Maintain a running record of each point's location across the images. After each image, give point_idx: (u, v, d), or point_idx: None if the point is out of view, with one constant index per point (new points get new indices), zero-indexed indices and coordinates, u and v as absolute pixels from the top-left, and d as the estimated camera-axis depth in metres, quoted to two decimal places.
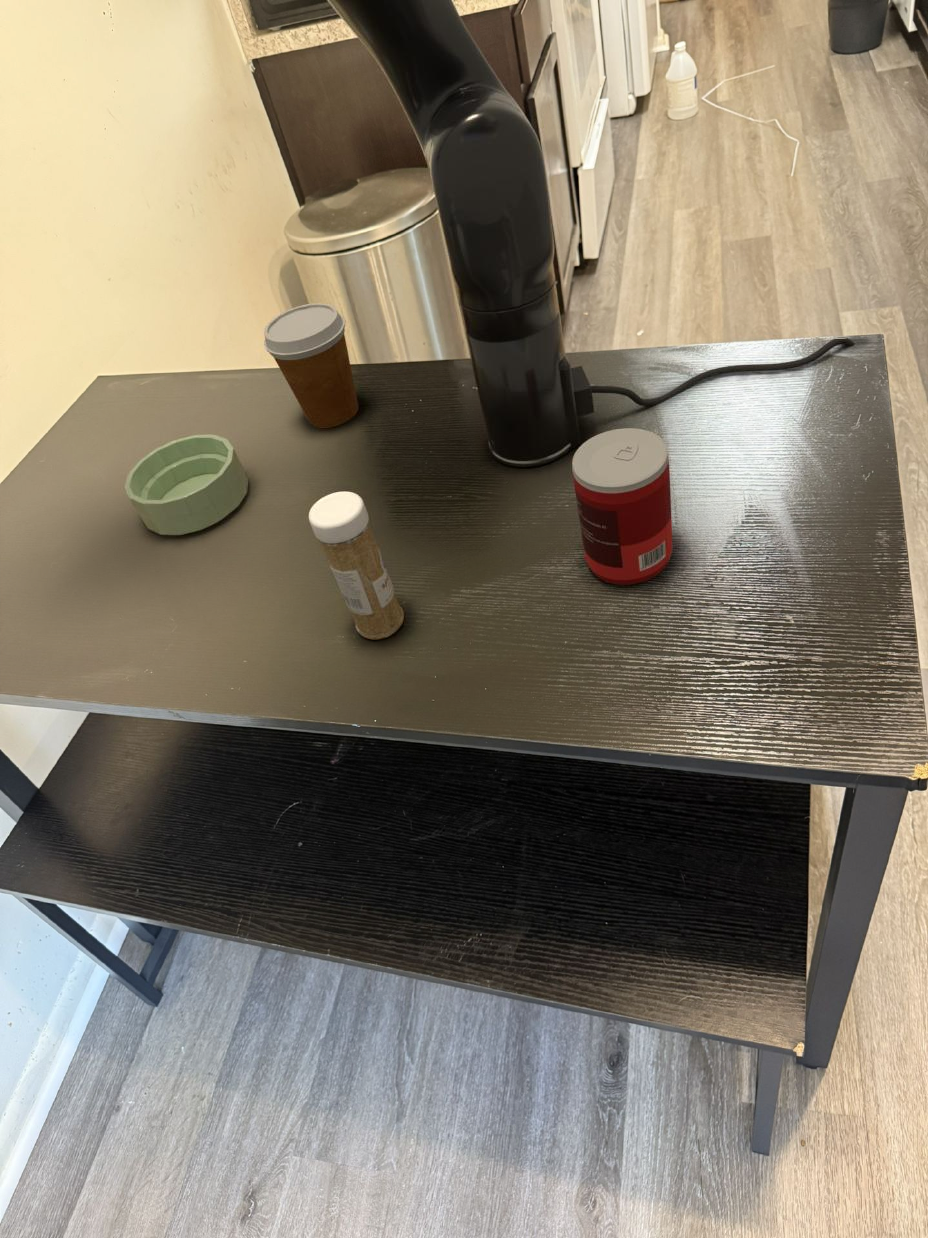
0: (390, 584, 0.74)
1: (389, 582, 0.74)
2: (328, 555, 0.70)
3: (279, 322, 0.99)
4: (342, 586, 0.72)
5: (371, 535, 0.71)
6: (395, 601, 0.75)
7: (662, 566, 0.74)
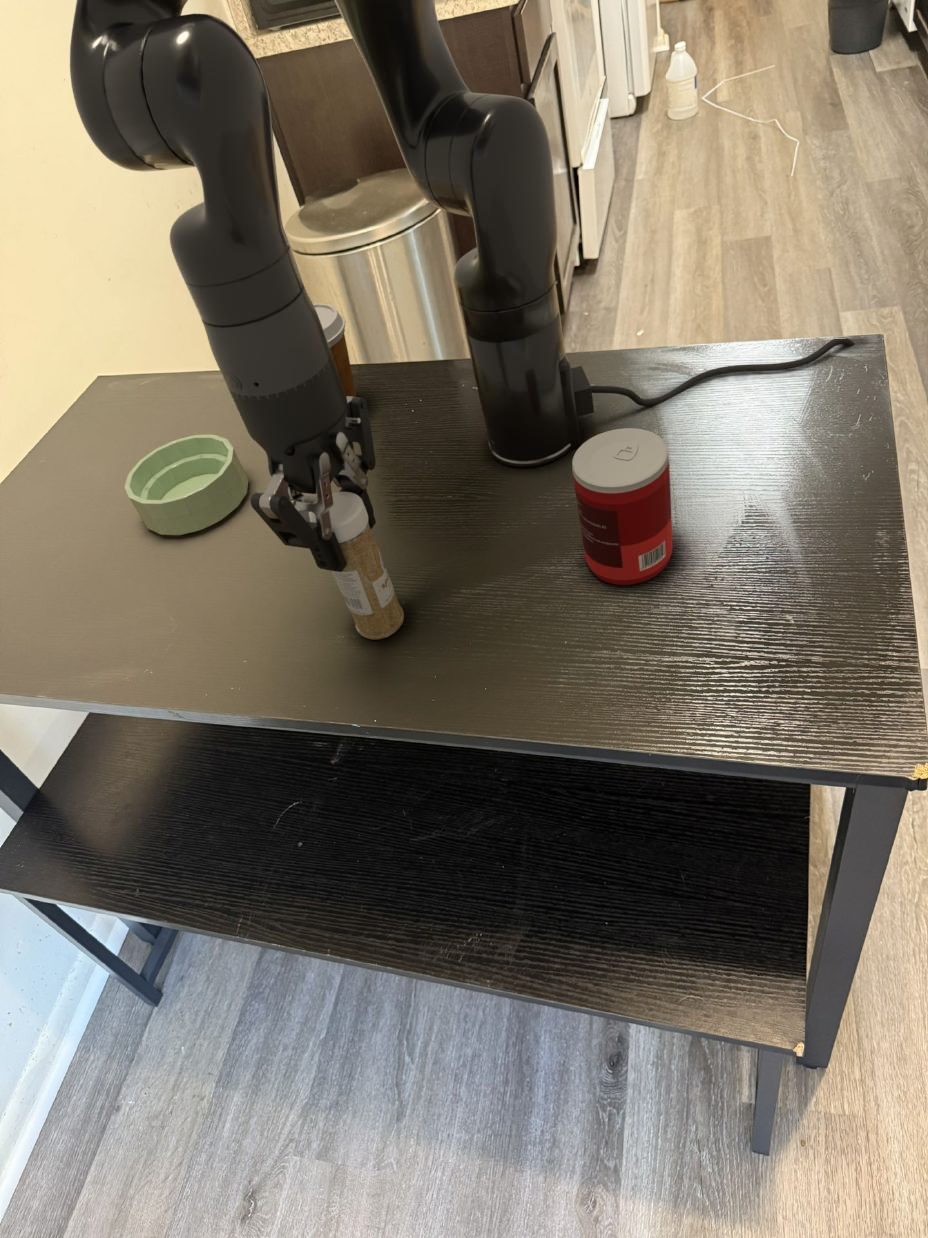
0: (390, 584, 0.74)
1: (389, 582, 0.74)
2: None
3: None
4: (341, 586, 0.72)
5: (371, 535, 0.71)
6: (395, 601, 0.75)
7: (662, 566, 0.74)
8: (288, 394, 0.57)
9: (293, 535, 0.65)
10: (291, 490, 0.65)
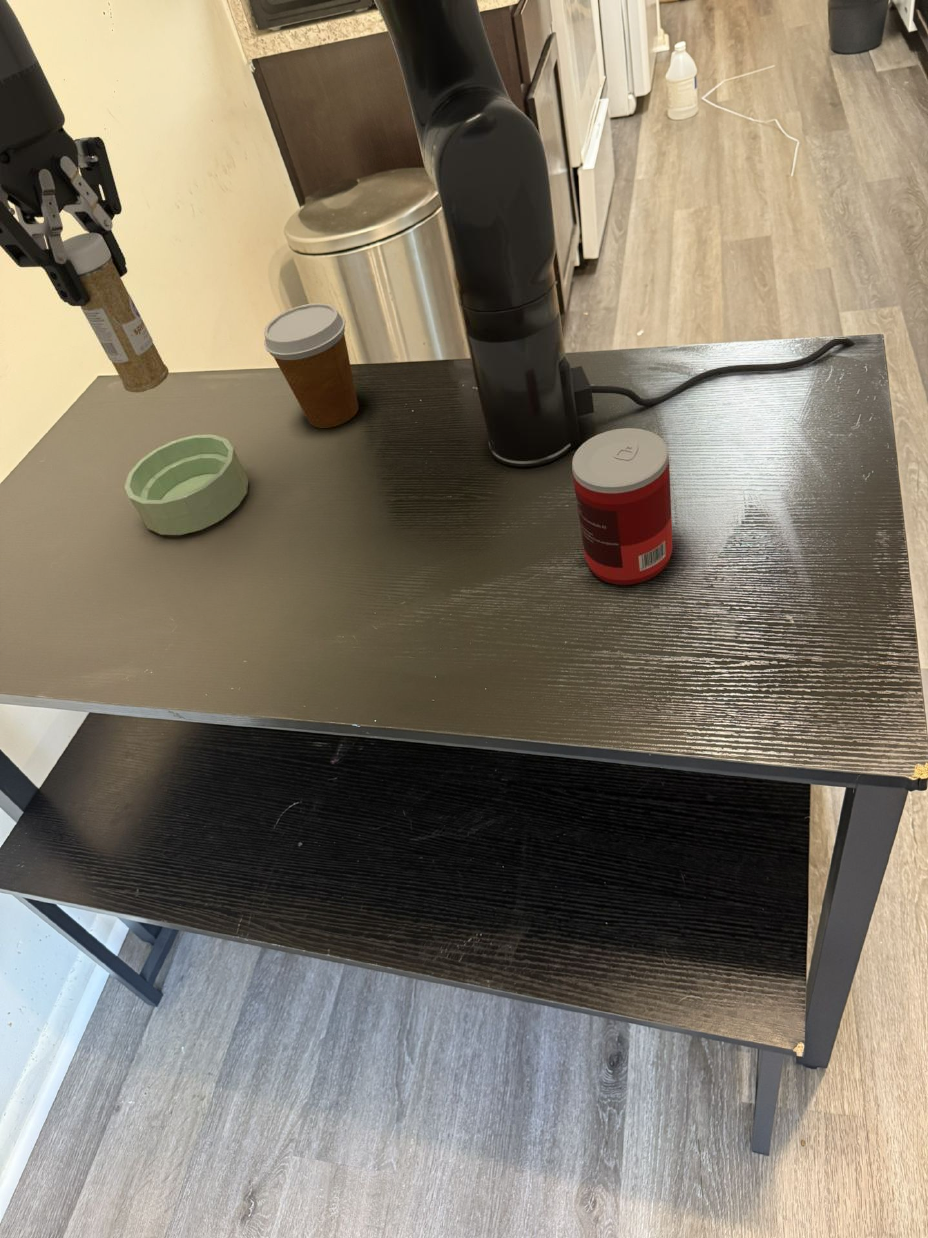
0: (147, 334, 0.79)
1: (144, 331, 0.79)
2: None
3: (279, 322, 0.99)
4: (94, 329, 0.77)
5: (116, 275, 0.75)
6: (154, 353, 0.80)
7: (662, 566, 0.74)
8: None
9: (23, 253, 0.69)
10: (22, 213, 0.70)
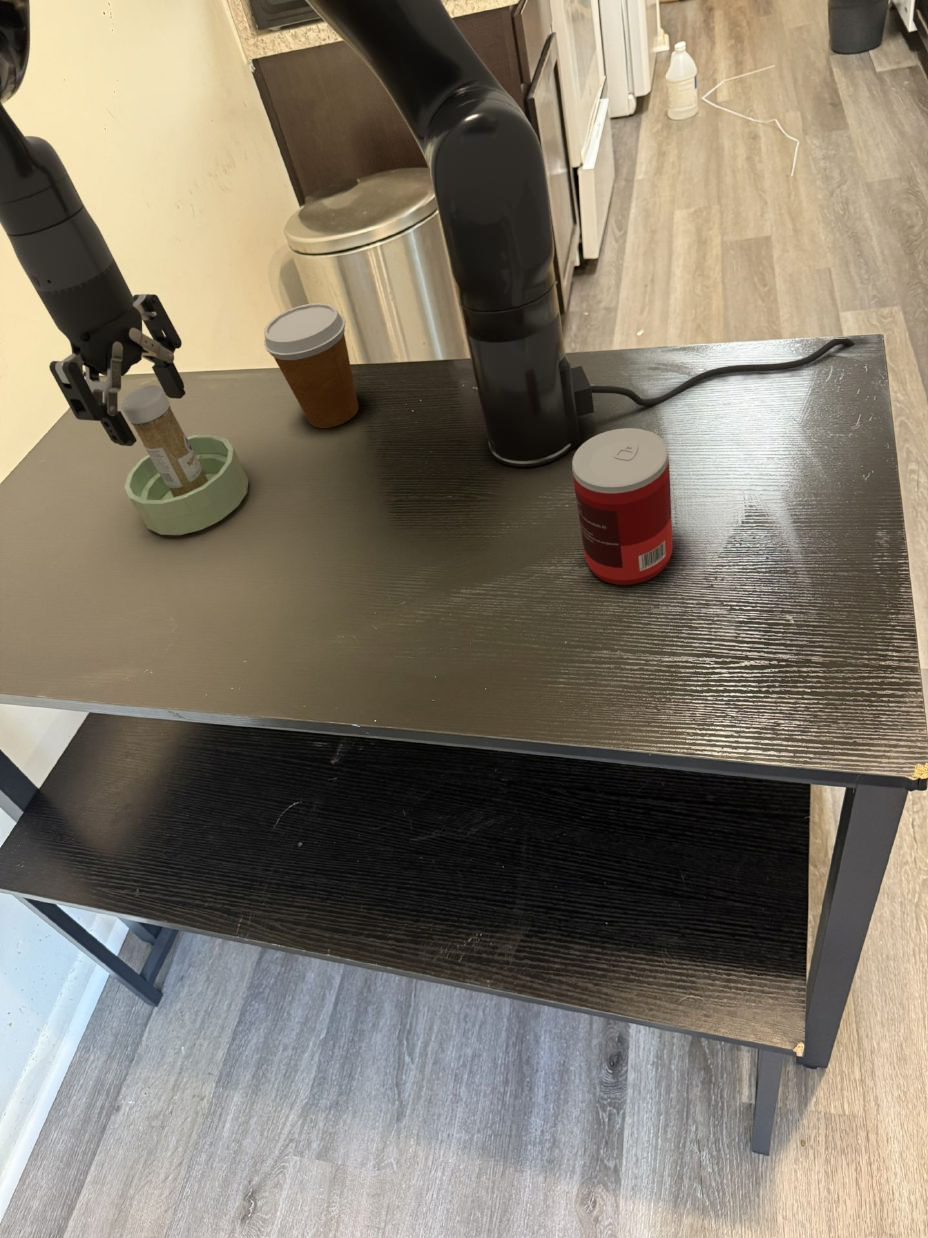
0: (197, 464, 0.94)
1: (195, 461, 0.93)
2: (139, 435, 0.90)
3: (279, 322, 0.99)
4: (154, 462, 0.92)
5: (173, 420, 0.90)
6: (203, 478, 0.95)
7: (662, 566, 0.74)
8: (74, 289, 0.76)
9: (82, 410, 0.82)
10: (90, 372, 0.83)
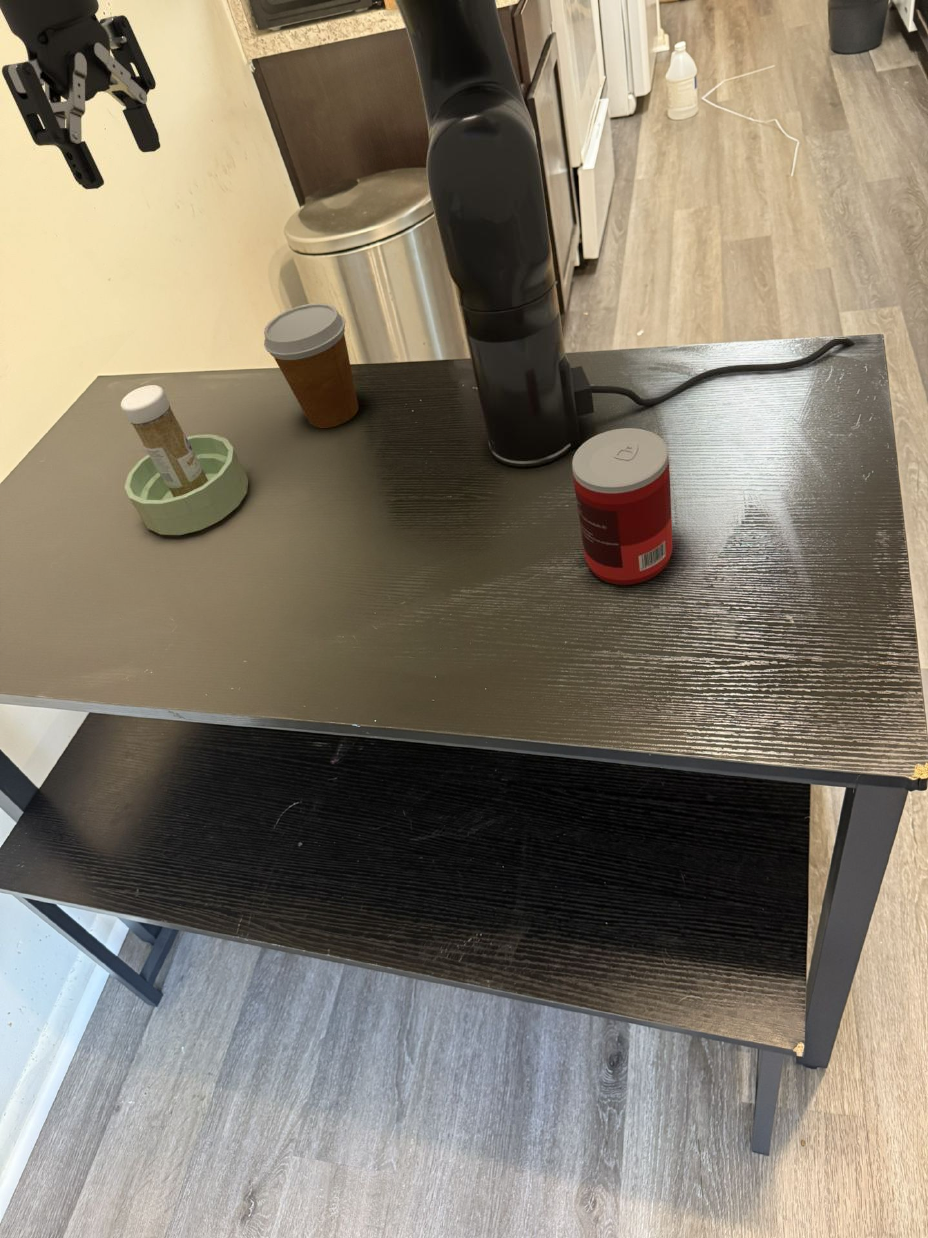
0: (197, 464, 0.94)
1: (195, 461, 0.93)
2: (139, 435, 0.90)
3: (279, 322, 0.99)
4: (154, 462, 0.92)
5: (173, 420, 0.90)
6: (203, 478, 0.95)
7: (662, 566, 0.74)
8: None
9: (40, 130, 0.73)
10: (50, 93, 0.74)
